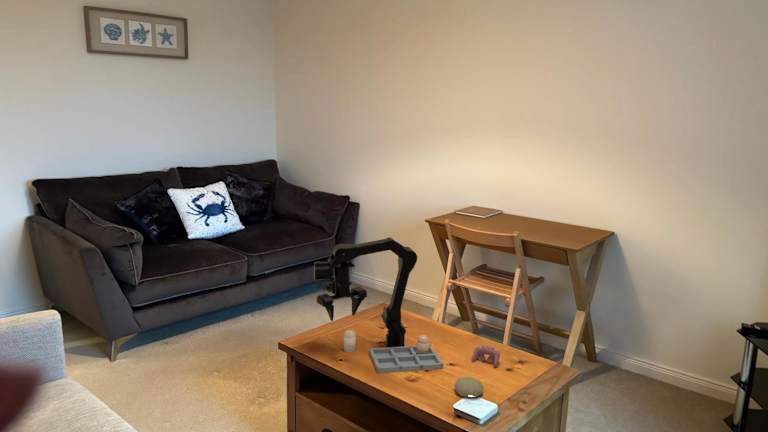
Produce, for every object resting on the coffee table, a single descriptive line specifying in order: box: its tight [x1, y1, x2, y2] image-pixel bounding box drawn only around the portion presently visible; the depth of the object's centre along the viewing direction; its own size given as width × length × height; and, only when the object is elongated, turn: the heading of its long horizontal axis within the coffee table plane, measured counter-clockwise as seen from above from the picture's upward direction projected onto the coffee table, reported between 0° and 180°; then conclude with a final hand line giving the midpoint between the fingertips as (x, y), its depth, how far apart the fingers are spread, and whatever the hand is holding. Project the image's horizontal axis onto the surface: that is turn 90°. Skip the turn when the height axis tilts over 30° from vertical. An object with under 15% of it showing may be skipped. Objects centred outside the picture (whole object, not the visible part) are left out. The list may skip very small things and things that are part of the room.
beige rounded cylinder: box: [416, 334, 430, 355], centre depth 221 cm, size 5×5×8 cm
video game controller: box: [471, 345, 501, 368], centre depth 218 cm, size 10×5×7 cm, turn 65°
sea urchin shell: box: [454, 376, 484, 397], centre depth 196 cm, size 9×8×8 cm
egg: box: [343, 329, 357, 353], centre depth 224 cm, size 5×5×8 cm
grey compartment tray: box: [368, 344, 444, 374], centre depth 216 cm, size 24×16×2 cm
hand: (342, 317), depth 222 cm, fingers open, 9 cm apart
